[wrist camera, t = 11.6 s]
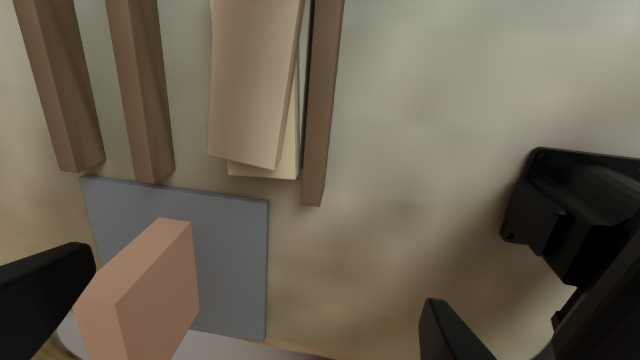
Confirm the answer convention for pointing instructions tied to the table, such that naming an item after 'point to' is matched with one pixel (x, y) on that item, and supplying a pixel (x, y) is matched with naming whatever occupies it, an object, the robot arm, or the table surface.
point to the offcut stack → (260, 85)
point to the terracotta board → (142, 297)
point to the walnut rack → (151, 86)
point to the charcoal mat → (195, 245)
